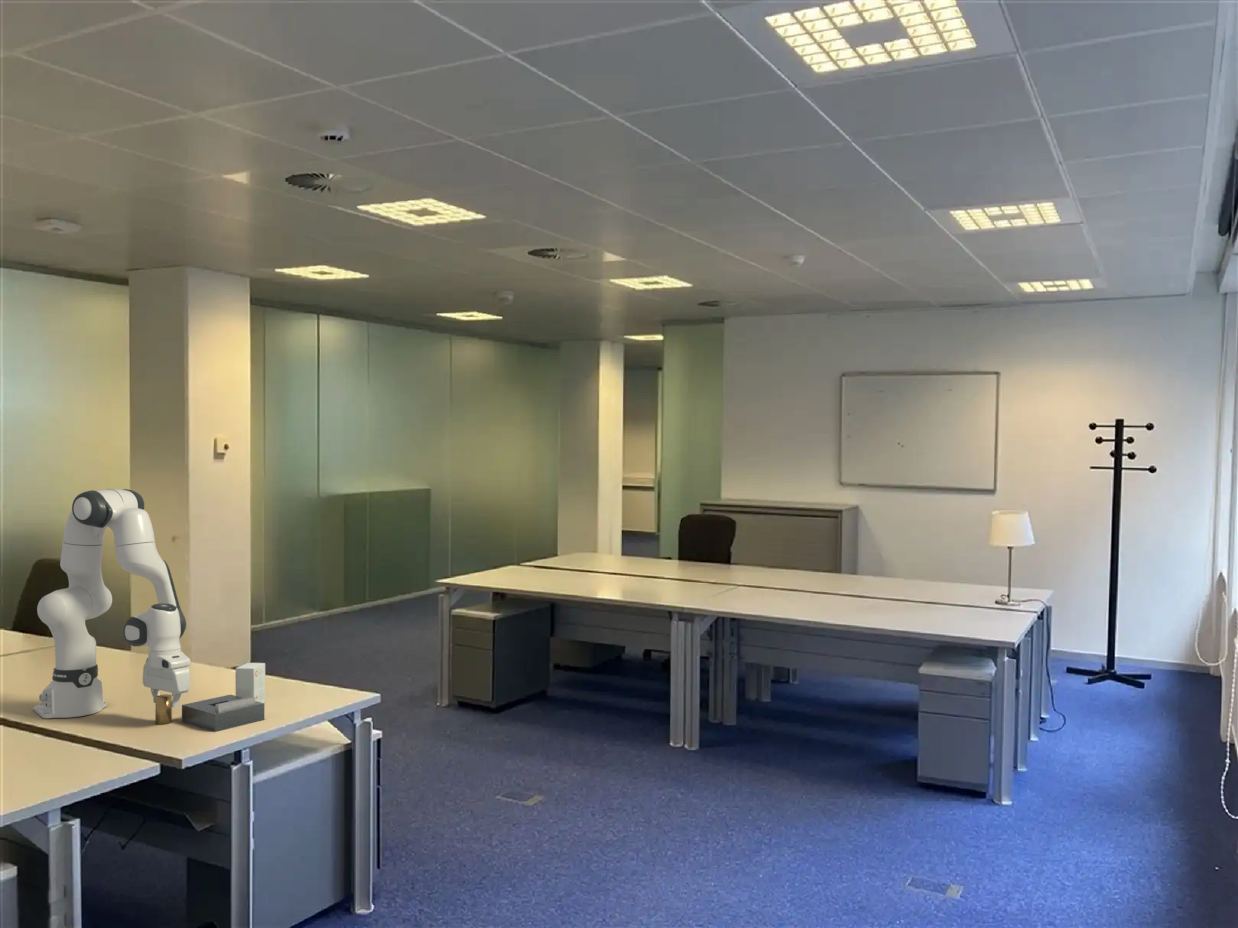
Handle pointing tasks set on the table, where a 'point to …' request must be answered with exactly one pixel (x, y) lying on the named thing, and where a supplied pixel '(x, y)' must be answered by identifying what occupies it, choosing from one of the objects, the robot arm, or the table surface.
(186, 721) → the jig
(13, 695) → the table surface
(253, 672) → the small box
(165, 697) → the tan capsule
